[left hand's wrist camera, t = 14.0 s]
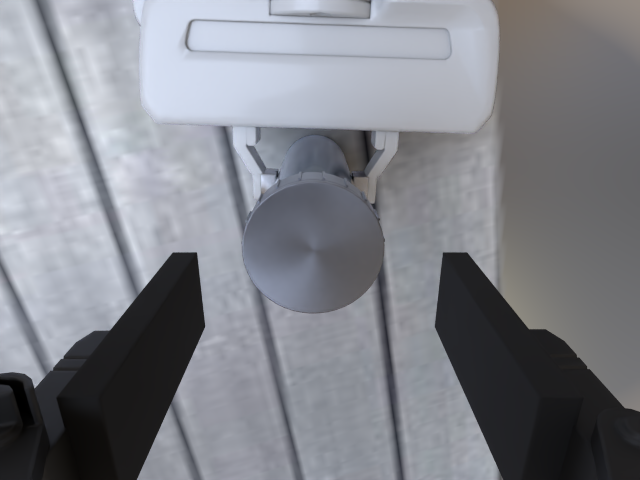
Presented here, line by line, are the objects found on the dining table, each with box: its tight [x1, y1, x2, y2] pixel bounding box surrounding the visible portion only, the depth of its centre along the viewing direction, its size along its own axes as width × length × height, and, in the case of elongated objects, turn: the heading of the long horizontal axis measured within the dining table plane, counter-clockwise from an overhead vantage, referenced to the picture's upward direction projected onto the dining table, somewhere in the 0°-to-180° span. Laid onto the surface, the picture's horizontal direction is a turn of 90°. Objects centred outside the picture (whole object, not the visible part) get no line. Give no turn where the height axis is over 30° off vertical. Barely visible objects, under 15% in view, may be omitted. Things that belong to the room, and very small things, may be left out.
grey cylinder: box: [275, 135, 354, 185], centre depth 26 cm, size 5×5×17 cm
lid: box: [242, 171, 385, 313], centre depth 19 cm, size 6×6×2 cm
